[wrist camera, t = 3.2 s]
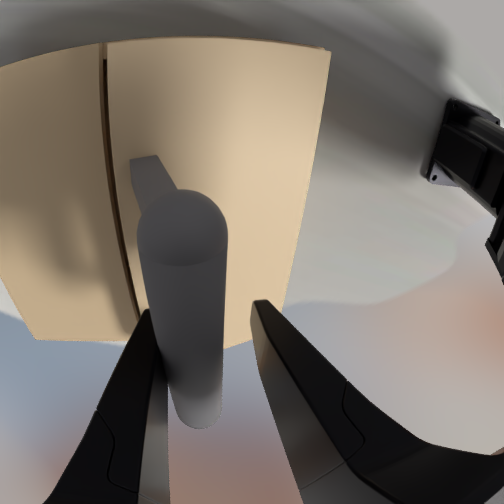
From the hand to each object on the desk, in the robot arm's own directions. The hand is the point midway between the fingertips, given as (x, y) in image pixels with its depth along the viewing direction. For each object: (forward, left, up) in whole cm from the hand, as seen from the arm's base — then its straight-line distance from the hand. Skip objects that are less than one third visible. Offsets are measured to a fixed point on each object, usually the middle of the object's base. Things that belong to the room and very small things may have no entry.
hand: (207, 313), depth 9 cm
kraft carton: (+3, 0, -10) cm, 11 cm away
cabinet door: (-1, 0, -4) cm, 4 cm away
